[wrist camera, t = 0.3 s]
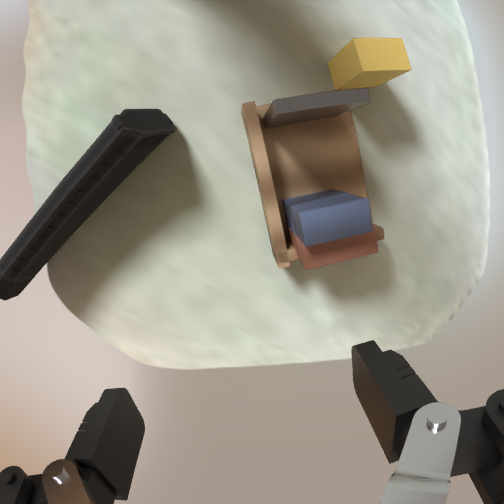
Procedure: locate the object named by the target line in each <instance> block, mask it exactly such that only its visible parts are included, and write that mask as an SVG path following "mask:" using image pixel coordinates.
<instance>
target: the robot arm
mask: <svg viewBox="0 0 504 504" xmlns="http://www.w3.org/2000/svg"><path fill="white" fill-rule="evenodd" d="M352 366H353V382H354V388H355V391H356V394H357V397H358V399H359V401H360V403H361V405H362V407H363V409H364V411H365V413H366V415H367V417H368V419H369V422H370V424H371V426H372V428H373V430H374V432H375V434H376V436H377V438H378V440H379V442H380V445H381V447H382V449H383V451H384V453H385V455H386V457H387V459H388V461H389V463H393V462H395V461H398V460H399V462H398V464H397V467H396V469H395V472H394V474H392V475H391V477H390V479H389V481H388V483H387V485H386V488H385V490H384V492H383V495H382V497H381V499H380V501H379V503H378V504H445V503H446V499H447V496H448V492H449V488H450V481H449V478H450V477H452V476H457V475H462V474H466V473H468V474H469V475H470V478H471V479H472V481H473V483H474V485H475V487H476V489H477V491H478V493H479V495H480V497H481V499H482V501H483V503H484V504H504V389H503V390H499V391H496V392H495V393H493V394H492V395H491V396H490V397H489V398H488V400H487V403H486V406H483V407H479V408H474V409H470V410H463V411H458V410H457V409H456V408H455V407H453V406H452V405H449V404H447V403H441V402H438V401H437V400H436V399H435V397H434V396H433V395H432V393H431V392H430V391H429V390H428V388H427V387H426V386H425V384H424V383H423V382H422V380H421V379H420V378H419V376H418V375H416V374H415V371H414V370H413V369H412V367H410V365H409V364H408V362H407V361H406V360H405V359H404V357H403V356H402V355H400V354H398V353H396V352H394V351H392V350H388V351H385V352H382V351H381V349H380V348H379V347H378V345H377V344H376V342H375V341H374V340H372V341H368V342H365V343H361V344H358V345H355V346H352ZM78 430H79V431H78V432H77V433H76V435H75V438H74V440H73V442H72V444H71V446H70V448H69V450H68V453H67V455H66V457H65V459H59V460H56V461H53V462H52V463H50V464H49V465H48V466H47V467H46V468H45V470H44V472H43V474H39V475H31V476H28V475H27V474H26V473H25V472H24V471H23V470H22V469H21V468H20V467H17V466H10V467H7V468H5V469H4V470H2V471H1V472H0V504H113V503H114V500H115V499H116V500H127V499H128V494H129V490H130V486H131V482H132V478H133V474H134V470H135V466H136V463H137V459H138V455H139V451H140V447H141V444H142V440H143V436H144V432H145V425H144V420H143V418H142V416H141V414H140V412H139V410H138V409H137V407H136V405H135V403H134V402H133V400H132V398H131V396H130V394H129V392H128V391H127V389H125V388H114V389H105V390H104V392H103V393H102V396H101V398H100V400H99V402H98V403H95V404H94V405H93V406H92V407H91V408H90V409H89V410H88V411H87V413H86V415H85V417H84V419H83V423H82V424H81V425H80V427H79V429H78Z"/></svg>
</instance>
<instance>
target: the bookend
mask: <svg viewBox="0 0 504 504" xmlns="http://www.w3.org/2000/svg"><path fill="white" fill-rule="evenodd" d="M369 102H371V101H370V97H369V93H368V89H367V88H363V89H352V90H342V91H333V92H324V93H316V94H309V95H302V96H295V97H289V98H283V99H277V100H273V102H272V104H271V105H270V107H269V109H268V110H267V112H266V114H265V115H264V117H263V121H264V125H265V128H271V127H276V126H281V125H287V124H292V123H298V122H304V121H310V120H317V119H323V118H330V117H336V116H338V115H341V114H343V113H345V112H348V111H350V110H352V109H355V108H357V107H359V106H362V105H364V104H366V103H369Z"/></svg>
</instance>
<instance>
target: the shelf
mask: <svg viewBox="0 0 504 504" xmlns="http://www.w3.org/2000/svg"><path fill="white" fill-rule="evenodd" d="M270 105H271V104H268V105H262V106H257V107H256V105H255V101H253V102H248V103H243V104H242V111H241V112H242V117H243V121H244V125H245V129H246V134H247V138H248V142H249V147H250V151H251V156H252V160H253V164H254V169H255V173H256V178H257V182H258V187H259V191H260V196H261V200H262V205H263V209H264V214H265V218H266V223H267V228H268V232H269V237H270V242H271V246H272V251H273V256H274V258H275V260H276V263H277V265H278V268H279V269H280V268H284V267H289V266H290V261H294V260H298V259H299V260H300V261H301V263H302V264H303V266H304V268H305V269H306V270H307V269H311V268H316V267H320V266H324V265H328V264H332V263H336V262H340V261H344V260H348V259H352V258H356V257H360V256H364V255H368V254H372V253H376V252H378V246H377V241H378V240H382V239H384V231H383V228H382V227H380V226H377V225H375V224H373V223H372V221H371V213H370V206H369V199H367V193H366V186H365V180H364V174H363V169H362V163H361V158H360V153H359V148H358V143H357V138H356V133H355V128H354V124H353V119H352V115H351V110H350V111H348V112H345V113H343V114H341V115H338V116H336V117H330V118H323V119H317V120H310V121H304V122H298V123H292V124H287V125H281V126H276V127H271V128H265V125H264V121H263V117H264V115H265V114H266V112H267V110H268V109H269V107H270Z"/></svg>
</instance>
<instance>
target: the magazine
mask: <svg viewBox="0 0 504 504" xmlns="http://www.w3.org/2000/svg"><path fill="white" fill-rule="evenodd" d="M175 130H176V128H175V127H174V125H173V122H172V121H171V120H170V118H169V117H168V116H167V115H166V114H163V112H162V111H161V110H160V109H125V110H123V111H122V113H121V114H120V115H115V116H114V117H113V118H112V121H111V122H110V124H109V125H108V126H107V127H106V128H105V130H104V131H103V132H102V133H101V135H100V136H99V137H98V138H97V139H96V141H95V142H94V143H93V144H92V145H91V147H90V148H89V149H88V150H87V151H86V153H85V154H84V155H83V156H82V157H81V158H80V160H79V161H78V162H77V163H76V164H75V166H74V167H73V168H72V169H71V170H70V171H69V173H68V174H67V175H66V176H65V177H64V178H63V180H62V181H61V182H60V183H59V185H58V186H57V187H56V188H55V190H54V191H53V192H52V193H51V195H50V196H49V197H48V199H47V200H46V201H45V202H44V204H43V205H42V206H41V208H40V209H39V210H38V211H37V213H36V214H35V215H34V216H33V218H32V219H31V220H30V222H29V223H28V224H27V225H26V227H25V228H24V229H23V231H22V232H21V233H20V235H19V236H18V237H17V239H16V240H15V241H14V242H13V244H12V245H11V246H10V248H9V249H8V250H7V251H6V253H5V254H4V255H3V257H2V258H1V259H0V299H3V300H8V299H10V298H13V297H15V296H18V295H19V294H20V293H21V292H22V291H23V290H24V288H25V287H26V286H27V285H28V284H29V283H30V282H31V280H32V279H33V278H34V277H35V275H36V274H37V273H38V272H39V271H40V270H41V269H42V267H43V266H44V265H45V264H46V263H47V262H48V261H49V260H50V258H51V257H52V256H53V255H54V254H55V253H56V252H57V251H58V250H59V248H60V247H61V246H62V245H63V244H64V243H65V242H66V241H67V240H68V239H69V238H70V236H71V235H72V234H73V233H74V232H75V231H76V230H77V229H78V228H79V227H80V226H81V225H82V223H83V222H84V221H85V220H86V219H87V218H88V217H89V216H90V215H91V214H92V213H93V212H94V211H95V209H96V208H97V207H98V206H99V205H100V204H101V203H102V202H103V201H104V200H105V199H106V198H107V197H108V196H109V195H110V194H111V193H112V191H113V190H114V189H115V188H116V187H117V186H118V185H119V184H120V183H121V182H122V181H123V180H124V179H125V178H126V177H127V176H128V175H129V174H130V173H131V172H132V171H133V170H134V169H135V168H136V167H137V166H138V165H139V164H140V163H141V162H142V161H143V160H144V159H145V158H146V157H147V156H148V155H149V154H150V153H151V152H152V151H153V150H154V149H155V148H156V147H157V146H158V145H159V144H160V143H161V142H162V141H163V140H164V139H165V138H166V137H167V136H169V135H170V134H171V133H173V132H174V131H175Z"/></svg>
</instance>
